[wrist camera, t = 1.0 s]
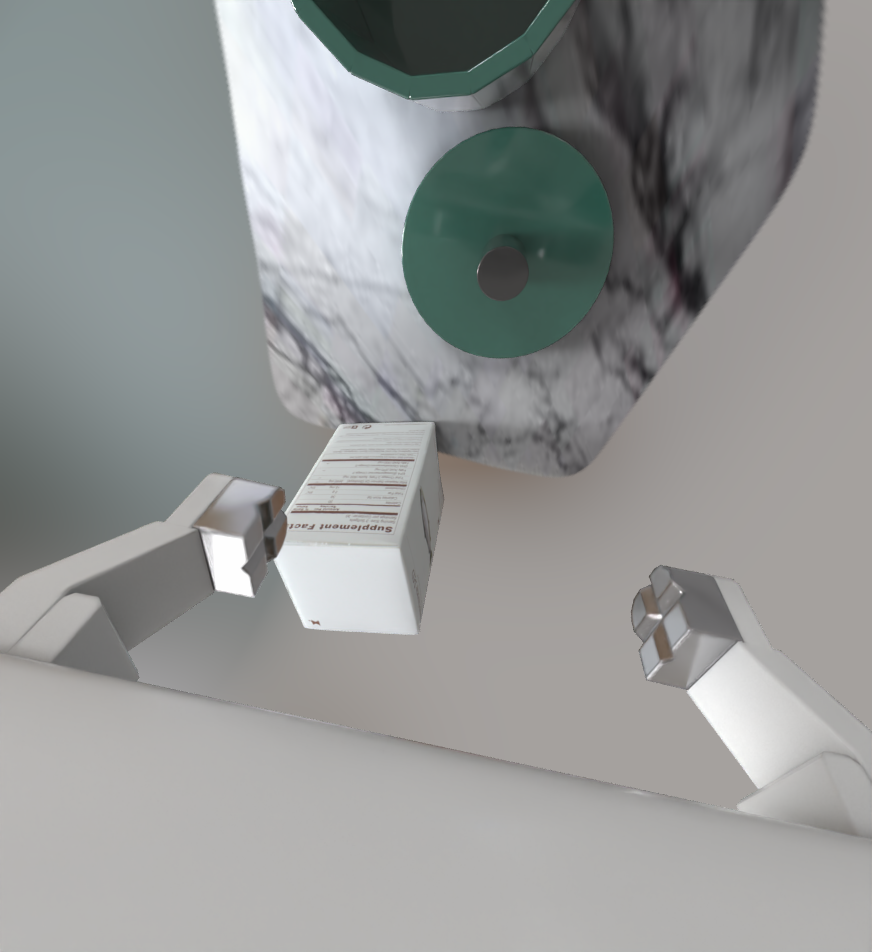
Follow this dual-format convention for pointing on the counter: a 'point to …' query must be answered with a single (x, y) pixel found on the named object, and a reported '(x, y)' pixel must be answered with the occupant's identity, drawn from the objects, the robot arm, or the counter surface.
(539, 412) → the counter surface
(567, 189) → the lid
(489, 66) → the tin
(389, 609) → the white packaging box
